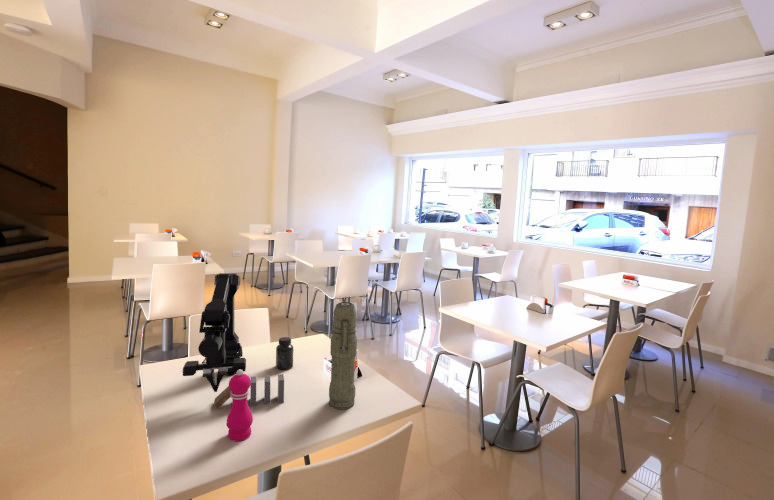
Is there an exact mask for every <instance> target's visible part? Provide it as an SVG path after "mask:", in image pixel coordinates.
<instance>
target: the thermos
mask: <svg viewBox="0 0 774 500" xmlns="http://www.w3.org/2000/svg"><path fill="white" fill-rule="evenodd" d="M332 315H333V318H332V321H333V322H332V326H333V329H332V335H331V337H330V353H329V354H330V356H331V369H330V372H331V373H330V382H329V387H328V398H329V399H328V400H329V402H328V404H329V406H330V407H331V408H333V409H336V410H347V409H351V408H352V407H354V406H355V397H356V385H355V370H356V365H355V364H356V355H357V353H358V351H357V350H358V338H357V335H356V332H357V331H356V326H357V310H356V307H355V304H354V303H352V302H348V301H341V302H338V303H336V305H335V306H334V309H333V314H332Z"/></svg>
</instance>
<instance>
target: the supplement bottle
mask: <svg viewBox="0 0 774 500" xmlns="http://www.w3.org/2000/svg"><path fill="white" fill-rule="evenodd" d="M275 349H276V350H275V368H276V369H277V370H279V371H280V370H281V371H288V370H291V369H292V368H293V367H294V346H293V344H292V339H291V337H290V336H289V337H288V336H285V337H279V338H278V345H276V348H275Z"/></svg>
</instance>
